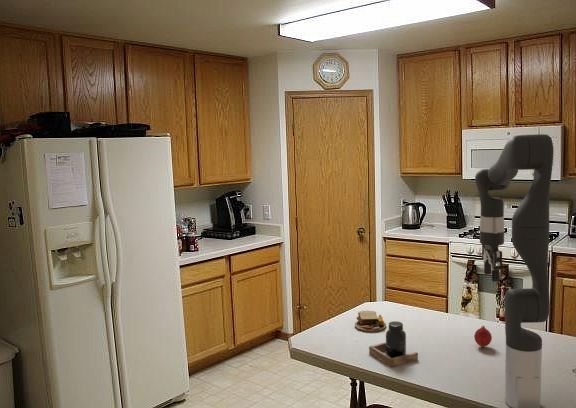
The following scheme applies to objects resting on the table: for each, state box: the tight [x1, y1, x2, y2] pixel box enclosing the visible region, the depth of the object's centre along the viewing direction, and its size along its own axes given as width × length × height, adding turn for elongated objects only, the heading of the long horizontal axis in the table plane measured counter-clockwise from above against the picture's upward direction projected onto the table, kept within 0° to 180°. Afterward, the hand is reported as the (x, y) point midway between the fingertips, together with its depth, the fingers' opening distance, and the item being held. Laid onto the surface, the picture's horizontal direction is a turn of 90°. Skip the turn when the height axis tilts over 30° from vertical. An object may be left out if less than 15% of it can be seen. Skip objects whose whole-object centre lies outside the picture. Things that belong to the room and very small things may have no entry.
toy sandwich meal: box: [354, 310, 387, 333], centre depth 212 cm, size 12×14×5 cm
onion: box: [473, 324, 493, 348], centre depth 187 cm, size 6×6×8 cm
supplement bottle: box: [385, 321, 407, 358], centre depth 182 cm, size 7×7×12 cm
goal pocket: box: [368, 341, 419, 368], centre depth 183 cm, size 11×13×2 cm
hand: (491, 277), depth 175 cm, fingers open, 8 cm apart
